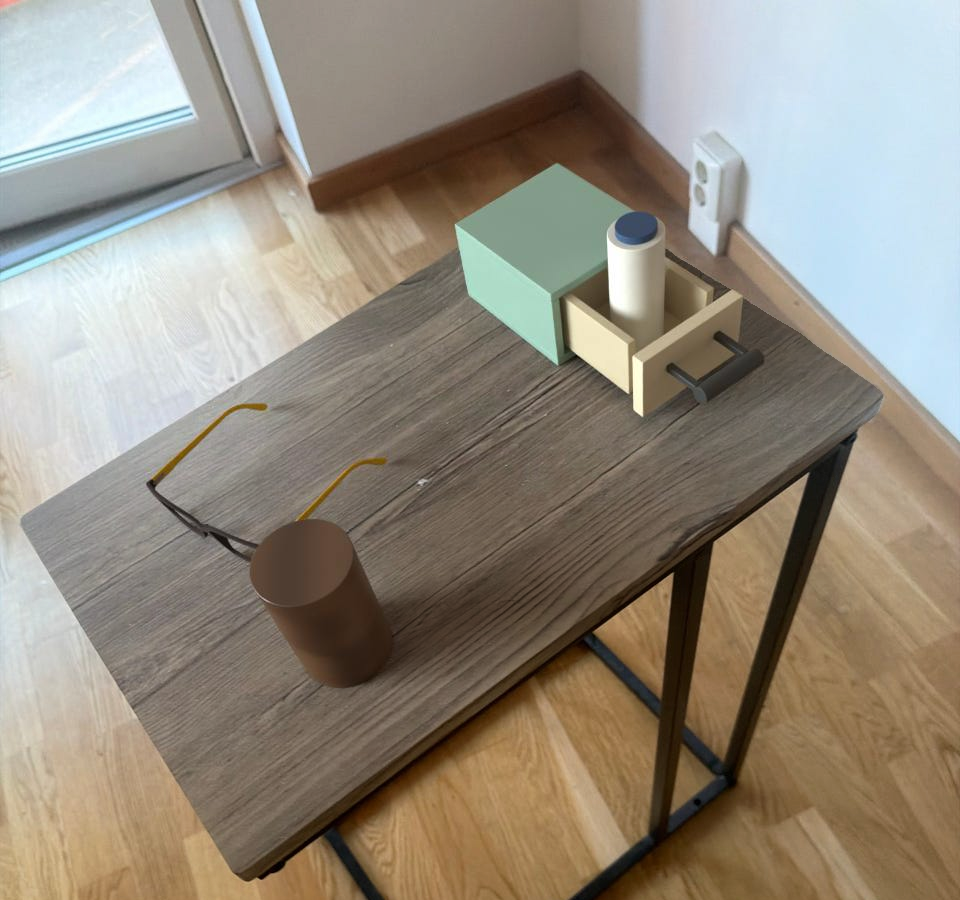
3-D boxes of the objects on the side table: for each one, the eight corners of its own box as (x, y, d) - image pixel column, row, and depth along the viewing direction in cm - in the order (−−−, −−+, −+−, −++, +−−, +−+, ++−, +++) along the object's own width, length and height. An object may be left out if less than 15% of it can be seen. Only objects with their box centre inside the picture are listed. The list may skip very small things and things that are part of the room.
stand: (390, 600, 71) (352, 510, 62) (394, 680, 68) (354, 596, 58) (302, 615, 72) (250, 528, 63) (301, 695, 68) (246, 614, 59)
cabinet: (658, 300, 84) (659, 225, 77) (558, 366, 82) (550, 295, 75) (563, 236, 91) (557, 162, 84) (468, 295, 88) (454, 223, 82)
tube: (673, 326, 79) (676, 214, 70) (646, 359, 78) (646, 249, 69) (628, 311, 81) (625, 200, 72) (601, 343, 79) (595, 234, 70)
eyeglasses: (157, 519, 79) (135, 489, 76) (267, 407, 84) (251, 374, 81) (278, 587, 74) (261, 557, 70) (388, 462, 79) (377, 429, 75)
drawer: (779, 381, 76) (789, 324, 71) (683, 449, 73) (686, 395, 69) (637, 284, 84) (636, 227, 79) (547, 343, 82) (541, 288, 77)
